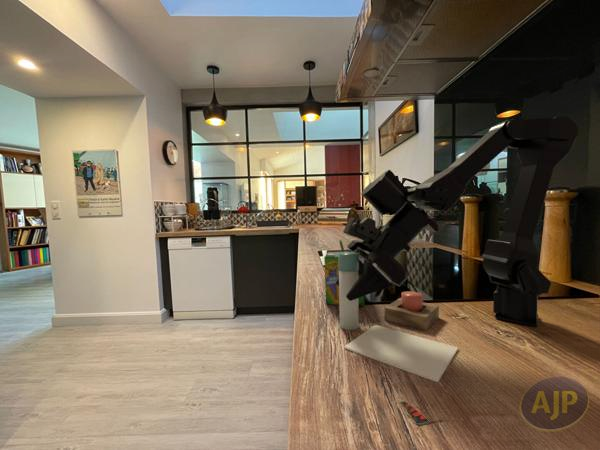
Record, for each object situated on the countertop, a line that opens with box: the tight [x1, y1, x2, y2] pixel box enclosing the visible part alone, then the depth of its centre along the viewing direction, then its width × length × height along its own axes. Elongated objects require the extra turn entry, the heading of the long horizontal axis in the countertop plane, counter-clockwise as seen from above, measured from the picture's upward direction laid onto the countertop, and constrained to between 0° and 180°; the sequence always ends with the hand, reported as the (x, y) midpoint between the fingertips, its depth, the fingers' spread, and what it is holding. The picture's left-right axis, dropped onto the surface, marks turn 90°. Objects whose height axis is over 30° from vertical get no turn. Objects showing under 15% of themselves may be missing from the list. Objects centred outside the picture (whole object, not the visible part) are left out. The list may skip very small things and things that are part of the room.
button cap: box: [400, 290, 424, 312], centre depth 57 cm, size 4×4×4 cm
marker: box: [338, 251, 360, 331], centre depth 53 cm, size 4×4×14 cm
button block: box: [384, 297, 440, 331], centre depth 57 cm, size 8×8×2 cm
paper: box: [343, 324, 459, 383], centre depth 45 cm, size 14×11×1 cm
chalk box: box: [323, 239, 366, 307], centre depth 69 cm, size 9×9×15 cm
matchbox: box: [398, 399, 446, 426], centre depth 31 cm, size 5×5×1 cm
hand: (342, 291), depth 53 cm, fingers open, 9 cm apart
